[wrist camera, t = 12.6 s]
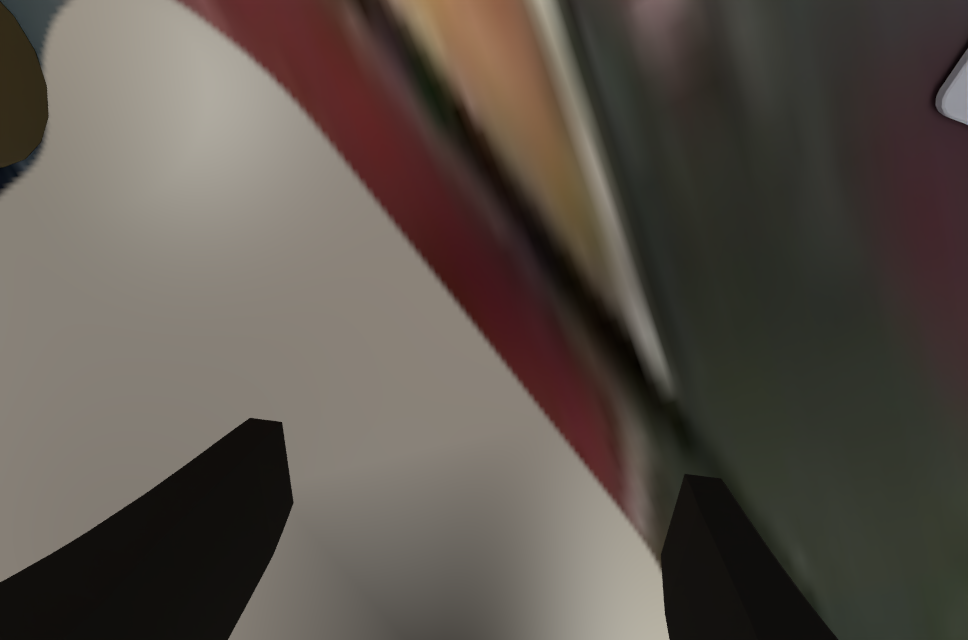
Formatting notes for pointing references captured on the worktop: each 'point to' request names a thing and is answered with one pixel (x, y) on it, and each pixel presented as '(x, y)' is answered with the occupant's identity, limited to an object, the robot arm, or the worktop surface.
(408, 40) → the worktop surface
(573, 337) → the worktop surface
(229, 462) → the robot arm
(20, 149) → the cork
